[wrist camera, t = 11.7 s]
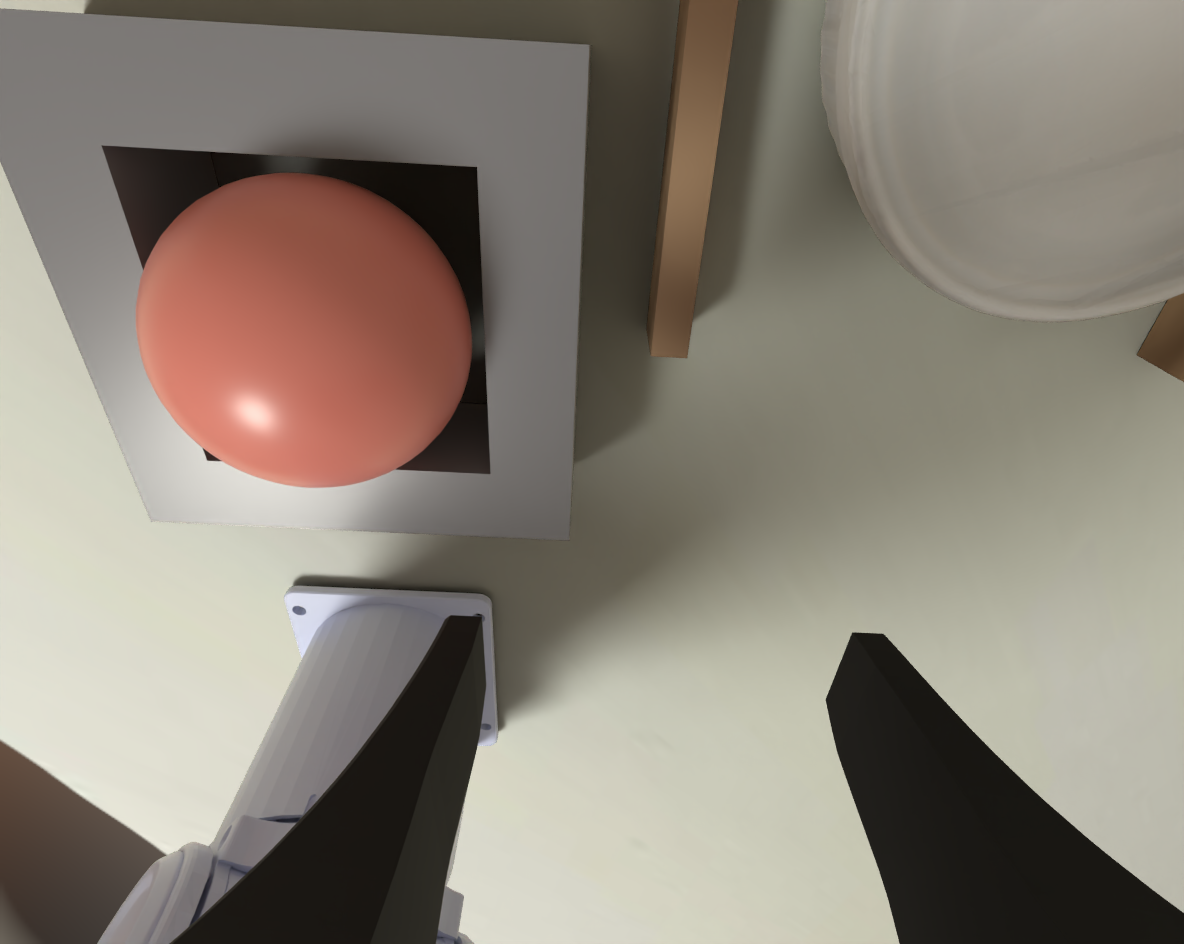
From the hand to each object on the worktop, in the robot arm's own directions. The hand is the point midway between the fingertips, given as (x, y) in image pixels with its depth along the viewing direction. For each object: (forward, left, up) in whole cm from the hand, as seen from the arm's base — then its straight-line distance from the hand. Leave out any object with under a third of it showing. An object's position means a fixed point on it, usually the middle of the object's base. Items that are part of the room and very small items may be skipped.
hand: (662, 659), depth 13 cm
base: (+4, +8, -10) cm, 13 cm away
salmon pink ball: (+4, +8, -9) cm, 13 cm away
